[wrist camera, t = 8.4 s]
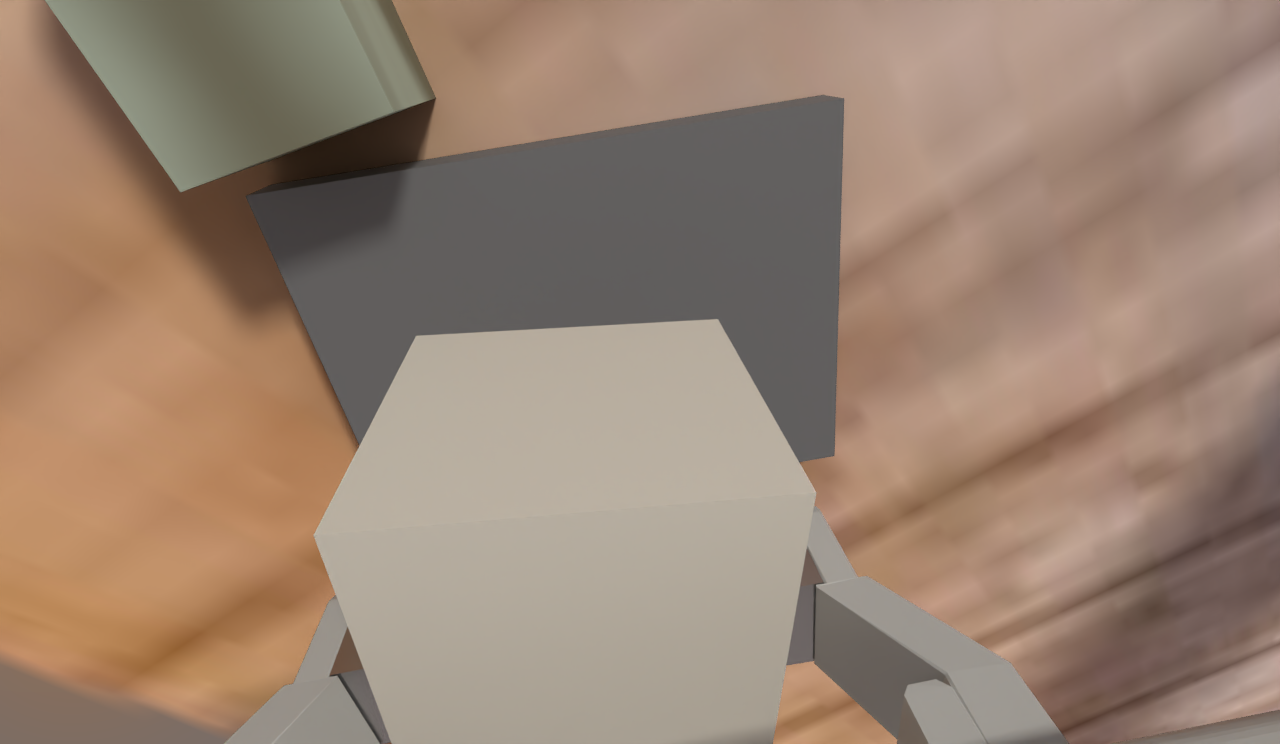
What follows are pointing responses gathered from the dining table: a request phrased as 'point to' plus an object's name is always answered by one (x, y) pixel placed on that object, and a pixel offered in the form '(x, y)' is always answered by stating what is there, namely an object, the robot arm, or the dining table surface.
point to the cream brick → (572, 540)
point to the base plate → (584, 249)
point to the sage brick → (245, 74)
